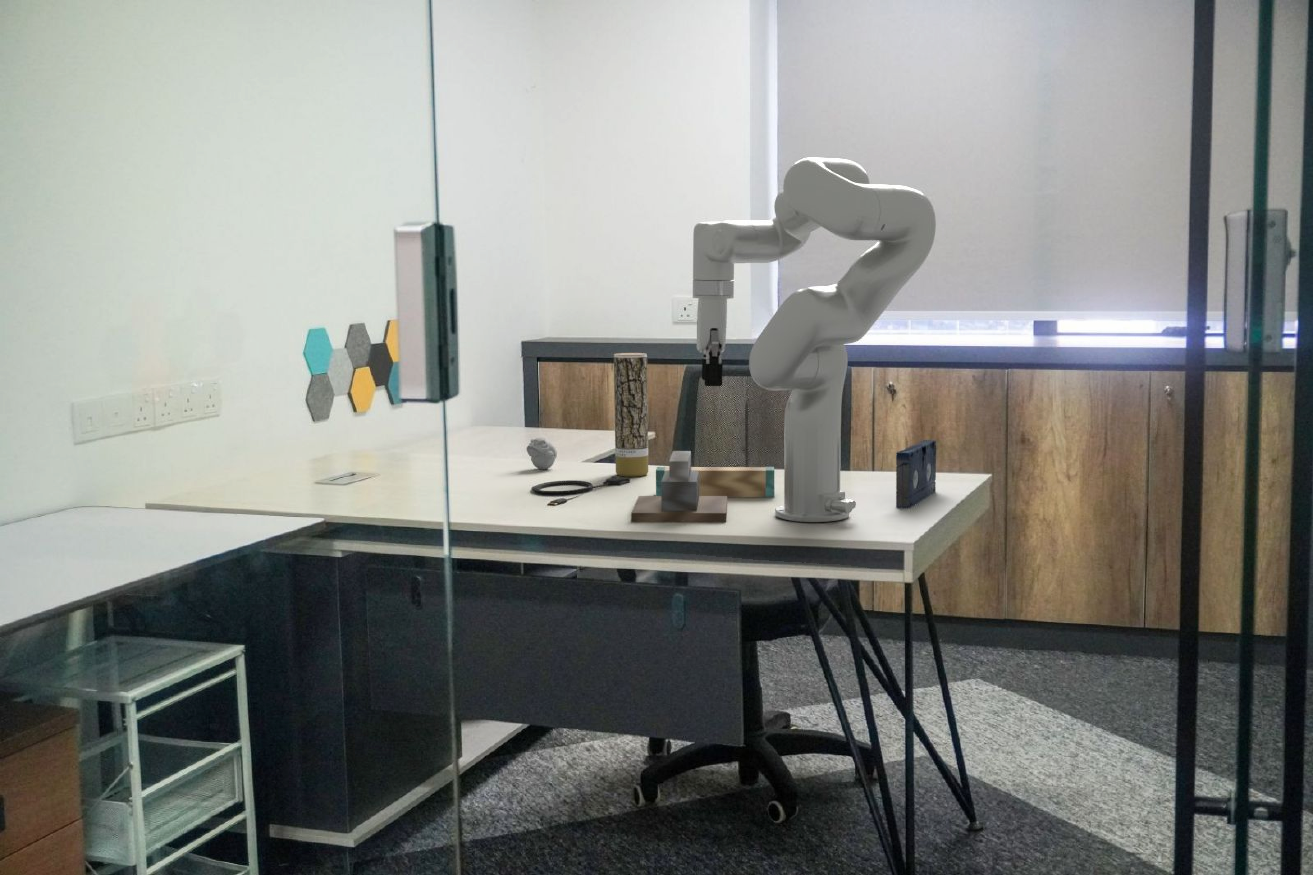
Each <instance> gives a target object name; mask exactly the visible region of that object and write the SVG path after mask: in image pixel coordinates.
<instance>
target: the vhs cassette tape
mask: <svg viewBox="0 0 1313 875" xmlns="http://www.w3.org/2000/svg"><path fill="white" fill-rule="evenodd" d="M936 441H937V440H932V439H931V440H930V439H923V441H922V440H921V441H919V442H917V443H915V444H912V445H910V446H909V447H906V448H905V449H903V450H900V451H897V452H896V454H895V455H896V458H895V463H896V467H895V468H896V469H895V470H896V472H895V474H896V475H895V476H896V478H895V481H896V482H895V485H896V486H895V488H896V489H895V492H896V493H895V495H896V496H895V500H896V501H895V508H897V509H908V508H910V509H911V508H913V507H914V506H916V505H917V504H919V503H920V502H922V501H923V499H924V500H925V499H927V498H929V497H930V496H931V495H933V494H934V493H936V488H937V487H936V479H937V478H936V477H937V475H936V474H937V465H936V464H937V442H936ZM915 504H916V505H915Z"/></svg>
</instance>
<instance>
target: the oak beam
mask: <svg viewBox="0 0 1313 875" xmlns="http://www.w3.org/2000/svg"><path fill="white" fill-rule="evenodd" d="M665 470H669V466H657V467H656V469H655V496H661V481H662V478H663V476H664V473H665ZM691 470H699V496H727V498H775V467H774V466H759V467H758V466H747V467H746V466H736V467H734V466H723V467H721V466H720V467H719V466H711V467H709V466H703V467H702V466H699V467H698V466H691Z"/></svg>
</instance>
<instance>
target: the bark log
mask: <svg viewBox="0 0 1313 875" xmlns="http://www.w3.org/2000/svg"><path fill="white" fill-rule="evenodd" d="M613 374H614V375H613V388H614V390H613V391H614V395H613V396H614V398H613V400H614V446H615V447H614V448H615V449H614V451H615V457H614V458H615V474H616V475H617V476H618V477H629V478H637V477H643V476H646V475H648V473H649V414H648V413H649V409H648V408H649V407H648V402H649V401H648V354H647V353H646V352H645V353H644V352H643V353H642V352H620V353H614V354H613Z"/></svg>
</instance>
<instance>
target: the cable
mask: <svg viewBox="0 0 1313 875" xmlns="http://www.w3.org/2000/svg"><path fill="white" fill-rule="evenodd" d="M629 483H631V477H624V476H611V477H609V478H606V479H605V481H603V482H602V484H598V485H593V483H591V482H589V481H584V480H577V479H576V480H573V479H572V480H556V481H548V482H547V481H546V482H543V483H539V484H537V485H534V486H532V487H531V491H532V492H533V493H534V494H536V495H539V496H540V495H541V496H548V497H549V496H550V497H551V496H552V497H553V496H554V497H560V496H562V497H564V496H573V497H569V498H557V499H553V500H550V501H549V502H548V503H547V506H552V507H555V506H561V505H563V504H566V503H568V501H570V500H573V499H576V498H579V497H581V496H583V495H584V494H585V493H589V492H591V491H593V489H598V488H602V487H612V486H618V487H619V486H623V485H626V484H629ZM560 486H581V487H582V488H577V489H568V490H542V489H545V488H546V489H547V488H550V487H560ZM580 494H581V495H580ZM575 495H576V496H575Z"/></svg>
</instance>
